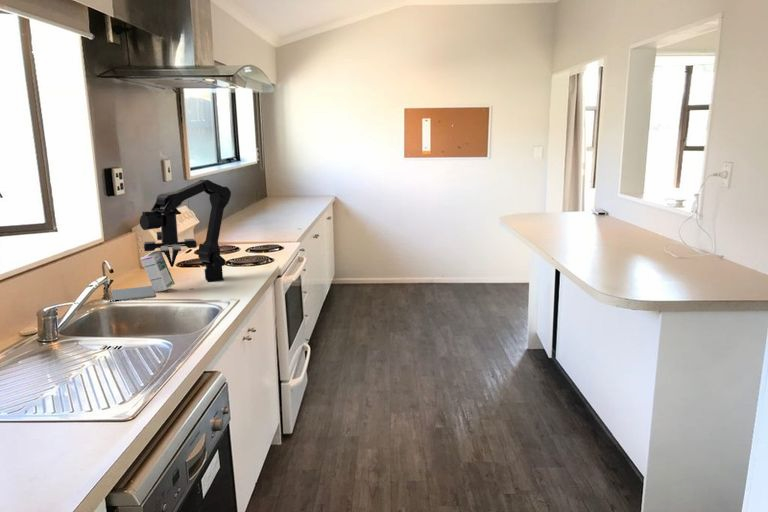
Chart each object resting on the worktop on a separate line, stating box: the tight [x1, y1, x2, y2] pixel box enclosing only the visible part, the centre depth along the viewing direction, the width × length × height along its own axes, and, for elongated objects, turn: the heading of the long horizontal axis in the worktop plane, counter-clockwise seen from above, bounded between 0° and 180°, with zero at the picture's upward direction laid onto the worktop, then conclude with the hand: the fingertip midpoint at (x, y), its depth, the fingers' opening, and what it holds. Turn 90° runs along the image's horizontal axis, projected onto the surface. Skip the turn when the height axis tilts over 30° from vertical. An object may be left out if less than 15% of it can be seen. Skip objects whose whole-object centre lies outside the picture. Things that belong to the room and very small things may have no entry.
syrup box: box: [140, 250, 175, 293], centre depth 214 cm, size 6×6×14 cm
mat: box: [107, 285, 156, 302], centre depth 211 cm, size 16×16×1 cm
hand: (172, 266), depth 215 cm, fingers closed
